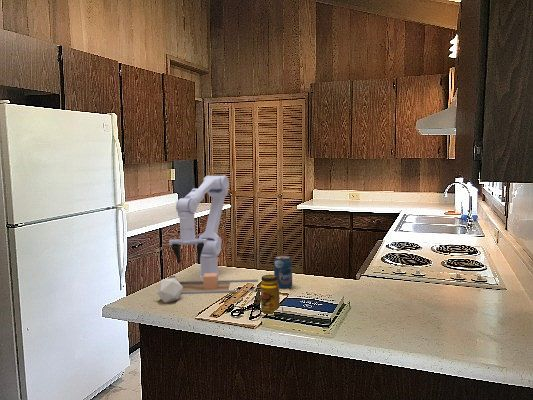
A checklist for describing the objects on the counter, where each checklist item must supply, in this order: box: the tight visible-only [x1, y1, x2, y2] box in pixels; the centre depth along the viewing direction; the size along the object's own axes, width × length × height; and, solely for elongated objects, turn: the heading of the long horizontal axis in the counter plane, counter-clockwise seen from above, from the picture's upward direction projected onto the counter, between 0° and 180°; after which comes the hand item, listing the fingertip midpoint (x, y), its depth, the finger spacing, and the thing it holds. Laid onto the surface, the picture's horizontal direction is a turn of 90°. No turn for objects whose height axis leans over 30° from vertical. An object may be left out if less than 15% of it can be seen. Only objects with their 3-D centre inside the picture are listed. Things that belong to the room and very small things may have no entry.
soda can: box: [273, 255, 293, 290], centre depth 171 cm, size 7×7×12 cm
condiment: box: [260, 274, 281, 314], centre depth 145 cm, size 7×8×12 cm
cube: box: [202, 273, 219, 289], centre depth 172 cm, size 5×5×5 cm
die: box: [156, 277, 183, 304], centre depth 159 cm, size 8×9×10 cm
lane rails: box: [177, 278, 259, 296], centre depth 172 cm, size 15×36×1 cm, turn 90°
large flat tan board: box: [167, 275, 231, 291], centre depth 172 cm, size 12×24×4 cm, turn 90°
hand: (188, 262), depth 176 cm, fingers open, 7 cm apart
